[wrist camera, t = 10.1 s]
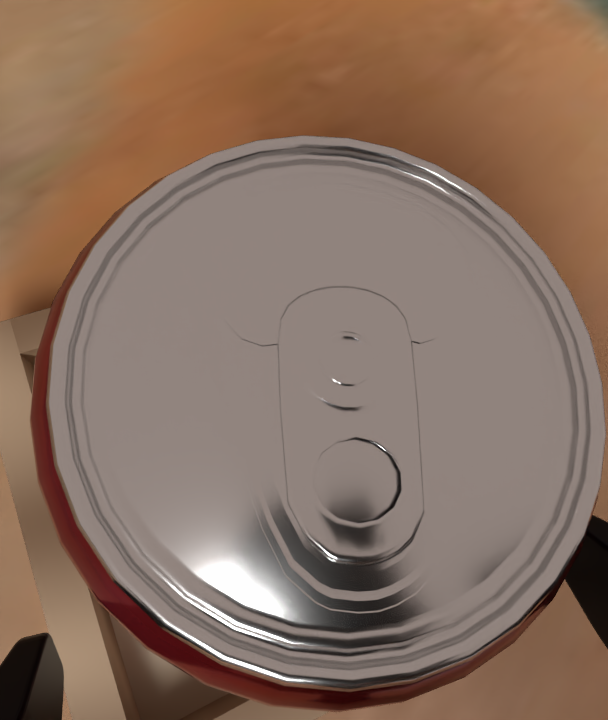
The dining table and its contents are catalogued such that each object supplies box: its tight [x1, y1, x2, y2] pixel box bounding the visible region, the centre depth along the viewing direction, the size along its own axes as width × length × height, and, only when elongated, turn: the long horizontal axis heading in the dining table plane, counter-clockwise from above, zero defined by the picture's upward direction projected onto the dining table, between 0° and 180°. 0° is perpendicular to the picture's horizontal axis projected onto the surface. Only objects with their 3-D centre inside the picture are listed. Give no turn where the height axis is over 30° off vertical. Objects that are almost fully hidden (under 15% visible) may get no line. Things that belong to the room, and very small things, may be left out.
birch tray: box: [0, 307, 328, 720], centre depth 17 cm, size 14×14×2 cm
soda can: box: [30, 136, 606, 712], centre depth 12 cm, size 7×7×12 cm
